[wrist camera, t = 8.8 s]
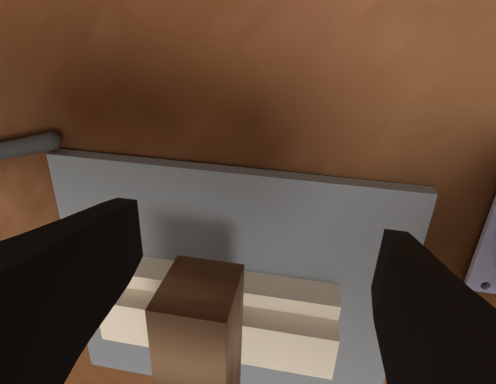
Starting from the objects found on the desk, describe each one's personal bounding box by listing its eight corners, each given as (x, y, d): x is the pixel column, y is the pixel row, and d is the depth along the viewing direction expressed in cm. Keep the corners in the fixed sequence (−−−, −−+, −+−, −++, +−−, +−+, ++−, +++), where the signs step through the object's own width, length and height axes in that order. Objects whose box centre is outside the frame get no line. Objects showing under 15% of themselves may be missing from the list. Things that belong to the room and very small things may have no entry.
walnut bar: (239, 416, 24) (224, 486, 20) (186, 405, 24) (163, 472, 21) (244, 264, 19) (226, 323, 15) (177, 255, 19) (144, 310, 16)
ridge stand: (432, 186, 20) (460, 230, 16) (371, 404, 28) (380, 470, 24) (56, 148, 23) (1, 177, 19) (98, 354, 31) (65, 404, 27)
